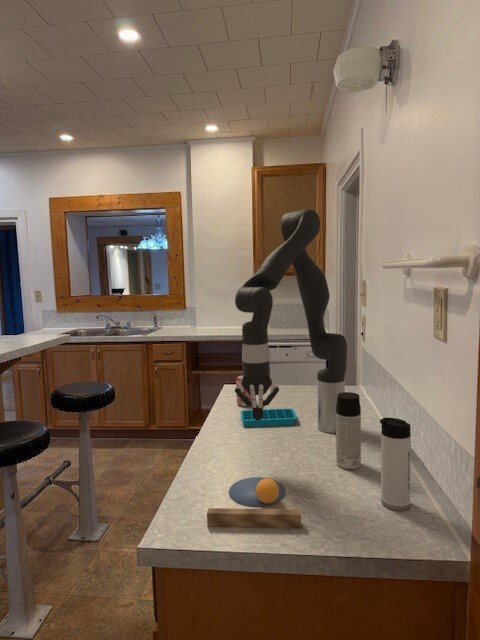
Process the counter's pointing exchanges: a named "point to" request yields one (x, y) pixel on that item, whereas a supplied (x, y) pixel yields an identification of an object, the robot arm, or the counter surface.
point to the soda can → (244, 392)
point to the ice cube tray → (269, 417)
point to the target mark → (251, 492)
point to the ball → (267, 490)
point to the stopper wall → (254, 518)
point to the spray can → (348, 430)
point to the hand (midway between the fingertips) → (258, 419)
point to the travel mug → (395, 463)
